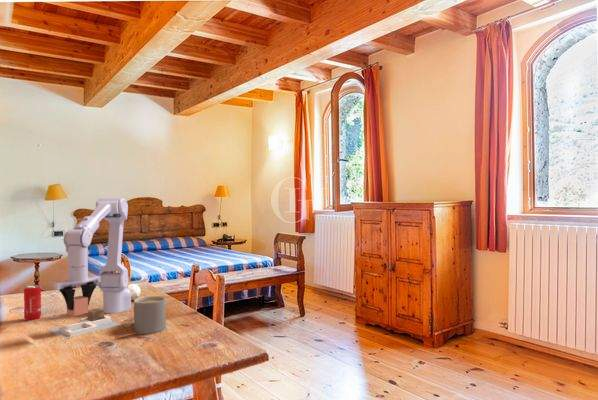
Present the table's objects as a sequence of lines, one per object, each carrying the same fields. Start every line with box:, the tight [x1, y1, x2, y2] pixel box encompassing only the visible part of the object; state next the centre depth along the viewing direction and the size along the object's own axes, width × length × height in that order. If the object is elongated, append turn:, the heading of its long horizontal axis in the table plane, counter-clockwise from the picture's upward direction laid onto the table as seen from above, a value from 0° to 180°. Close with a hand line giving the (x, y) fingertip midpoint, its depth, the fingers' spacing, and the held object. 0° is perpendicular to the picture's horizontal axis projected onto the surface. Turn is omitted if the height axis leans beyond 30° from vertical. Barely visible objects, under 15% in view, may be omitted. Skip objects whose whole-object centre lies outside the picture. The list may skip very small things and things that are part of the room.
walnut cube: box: [86, 307, 105, 322], centre depth 145 cm, size 4×4×4 cm
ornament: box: [126, 281, 142, 302], centre depth 179 cm, size 7×7×8 cm
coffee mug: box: [133, 295, 167, 335], centre depth 141 cm, size 13×10×10 cm
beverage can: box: [23, 284, 42, 322], centre depth 152 cm, size 5×5×12 cm
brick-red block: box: [66, 295, 89, 317], centre depth 136 cm, size 4×4×5 cm
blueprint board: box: [47, 314, 122, 339], centre depth 139 cm, size 18×14×2 cm
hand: (78, 307), depth 136 cm, fingers closed on brick-red block, 4 cm apart
